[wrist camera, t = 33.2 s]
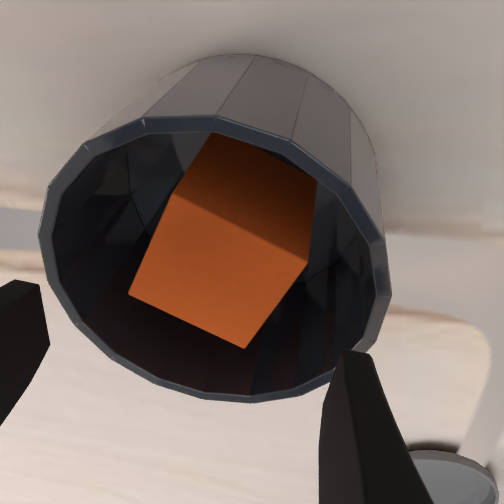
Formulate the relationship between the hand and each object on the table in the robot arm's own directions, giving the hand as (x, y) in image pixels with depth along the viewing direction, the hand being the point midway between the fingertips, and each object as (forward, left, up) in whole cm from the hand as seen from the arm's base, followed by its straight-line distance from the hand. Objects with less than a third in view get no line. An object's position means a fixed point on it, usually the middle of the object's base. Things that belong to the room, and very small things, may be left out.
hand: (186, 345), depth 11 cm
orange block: (0, 0, -8) cm, 8 cm away
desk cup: (0, 0, -8) cm, 8 cm away
